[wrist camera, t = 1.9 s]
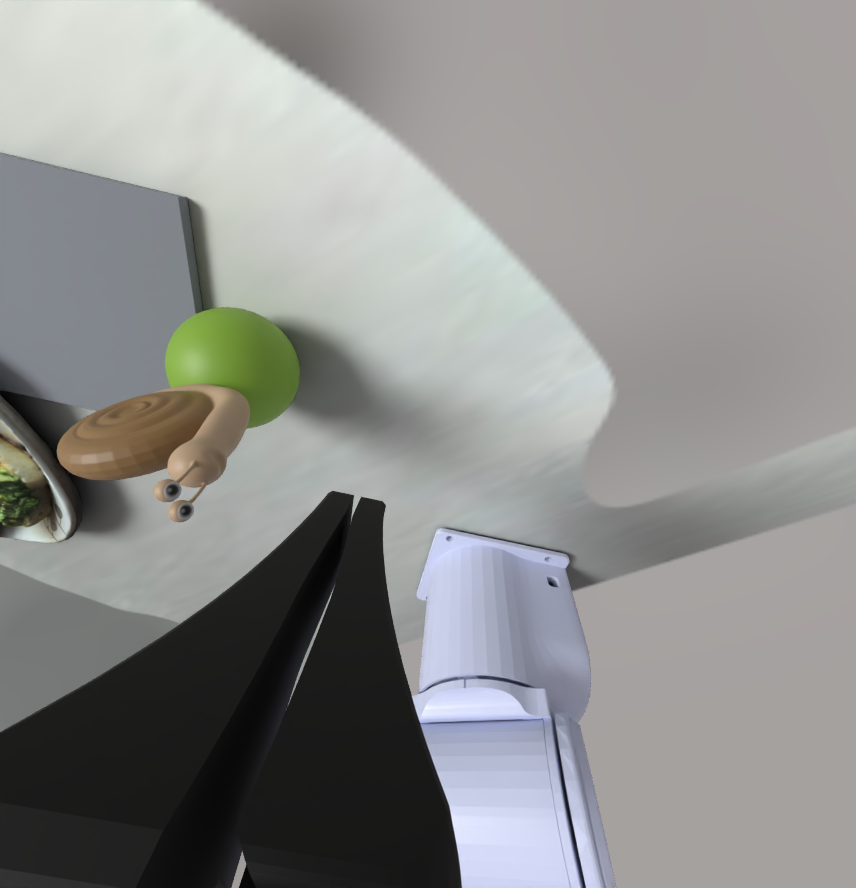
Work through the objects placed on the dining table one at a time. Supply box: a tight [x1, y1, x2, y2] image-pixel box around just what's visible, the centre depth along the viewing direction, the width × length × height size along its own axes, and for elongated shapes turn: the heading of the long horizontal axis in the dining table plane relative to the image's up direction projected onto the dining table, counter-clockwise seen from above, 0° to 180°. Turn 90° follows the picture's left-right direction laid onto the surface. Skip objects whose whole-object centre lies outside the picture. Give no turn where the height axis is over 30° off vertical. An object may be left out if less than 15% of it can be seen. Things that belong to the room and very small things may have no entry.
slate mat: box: [0, 153, 203, 411], centre depth 18 cm, size 15×12×1 cm
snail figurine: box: [57, 307, 300, 522], centre depth 14 cm, size 5×6×12 cm
